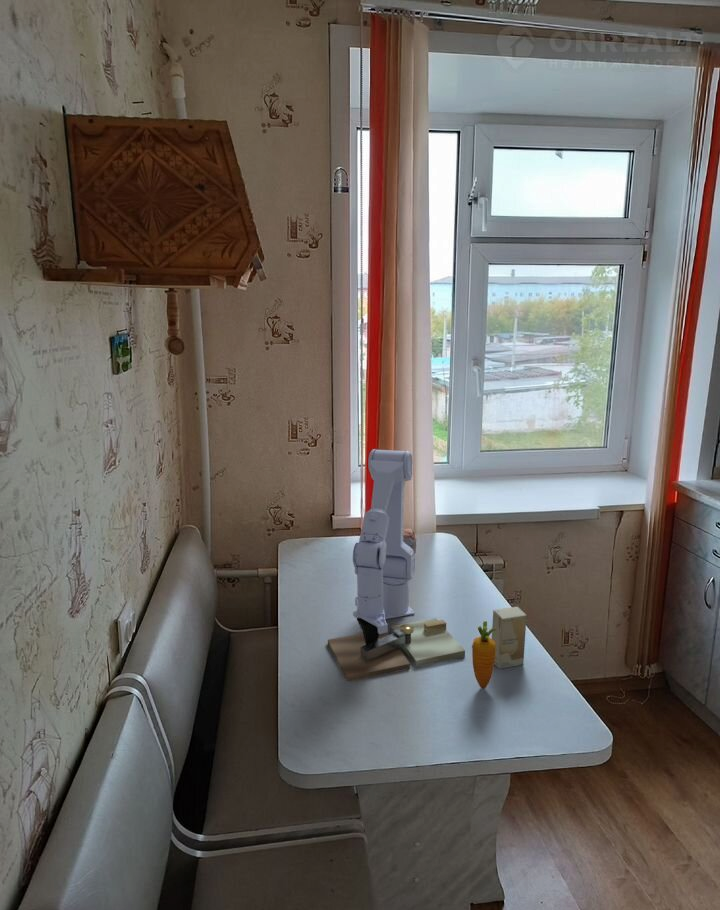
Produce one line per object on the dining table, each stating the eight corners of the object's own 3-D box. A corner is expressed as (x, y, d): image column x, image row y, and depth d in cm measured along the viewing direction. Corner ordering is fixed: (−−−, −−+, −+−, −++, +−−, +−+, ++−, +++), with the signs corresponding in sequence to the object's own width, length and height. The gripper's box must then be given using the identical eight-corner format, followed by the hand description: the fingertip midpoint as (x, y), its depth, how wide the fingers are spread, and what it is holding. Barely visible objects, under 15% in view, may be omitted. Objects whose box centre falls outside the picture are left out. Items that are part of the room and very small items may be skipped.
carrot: (478, 678, 134) (479, 615, 131) (499, 687, 131) (501, 622, 128) (466, 689, 131) (467, 624, 127) (487, 698, 128) (490, 632, 124)
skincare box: (499, 669, 138) (500, 619, 135) (489, 658, 142) (491, 609, 139) (525, 664, 139) (527, 614, 136) (515, 654, 143) (517, 605, 140)
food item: (413, 549, 204) (413, 520, 202) (417, 559, 197) (417, 529, 194) (371, 551, 203) (371, 522, 201) (374, 561, 196) (373, 531, 193)
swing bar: (407, 635, 148) (407, 622, 148) (416, 640, 146) (416, 628, 145) (359, 655, 140) (359, 642, 140) (368, 662, 138) (367, 648, 137)
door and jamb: (327, 644, 149) (327, 629, 148) (435, 623, 157) (435, 609, 156) (347, 681, 134) (346, 665, 133) (464, 656, 143) (465, 641, 142)
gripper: (342, 582, 145) (344, 635, 148) (365, 610, 132) (367, 667, 135) (370, 577, 147) (371, 629, 151) (396, 603, 134) (396, 660, 138)
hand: (371, 646), depth 143 cm, fingers closed
